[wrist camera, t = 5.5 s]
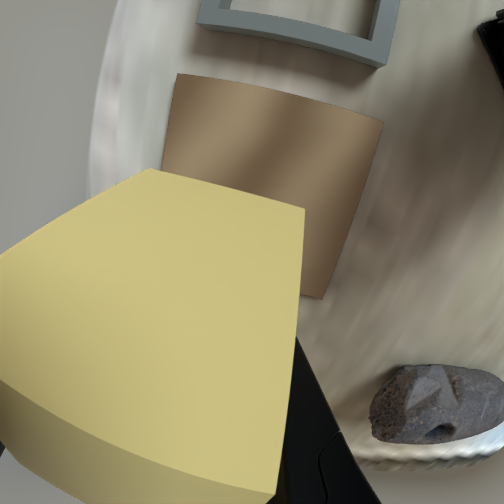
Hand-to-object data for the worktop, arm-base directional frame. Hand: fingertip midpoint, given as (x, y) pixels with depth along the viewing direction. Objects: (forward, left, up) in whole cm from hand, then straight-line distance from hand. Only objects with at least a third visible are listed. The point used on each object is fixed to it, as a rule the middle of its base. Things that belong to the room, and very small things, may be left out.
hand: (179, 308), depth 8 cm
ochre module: (0, 0, -3) cm, 3 cm away
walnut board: (0, 0, -12) cm, 13 cm away
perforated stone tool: (-22, -7, -13) cm, 27 cm away
